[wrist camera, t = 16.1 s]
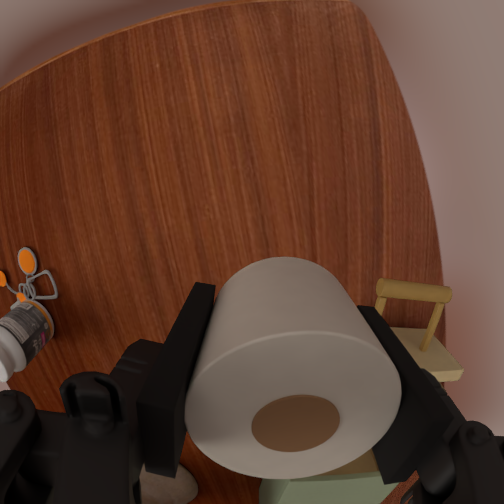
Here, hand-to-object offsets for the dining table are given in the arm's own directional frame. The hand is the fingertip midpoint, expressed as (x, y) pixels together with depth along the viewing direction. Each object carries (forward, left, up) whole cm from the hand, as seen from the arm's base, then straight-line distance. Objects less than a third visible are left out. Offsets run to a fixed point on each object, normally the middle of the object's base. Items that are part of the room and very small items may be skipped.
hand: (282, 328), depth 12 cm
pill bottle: (+24, +16, -15) cm, 33 cm away
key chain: (+27, +12, -15) cm, 33 cm away
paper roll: (0, 0, 0) cm, 0 cm away
